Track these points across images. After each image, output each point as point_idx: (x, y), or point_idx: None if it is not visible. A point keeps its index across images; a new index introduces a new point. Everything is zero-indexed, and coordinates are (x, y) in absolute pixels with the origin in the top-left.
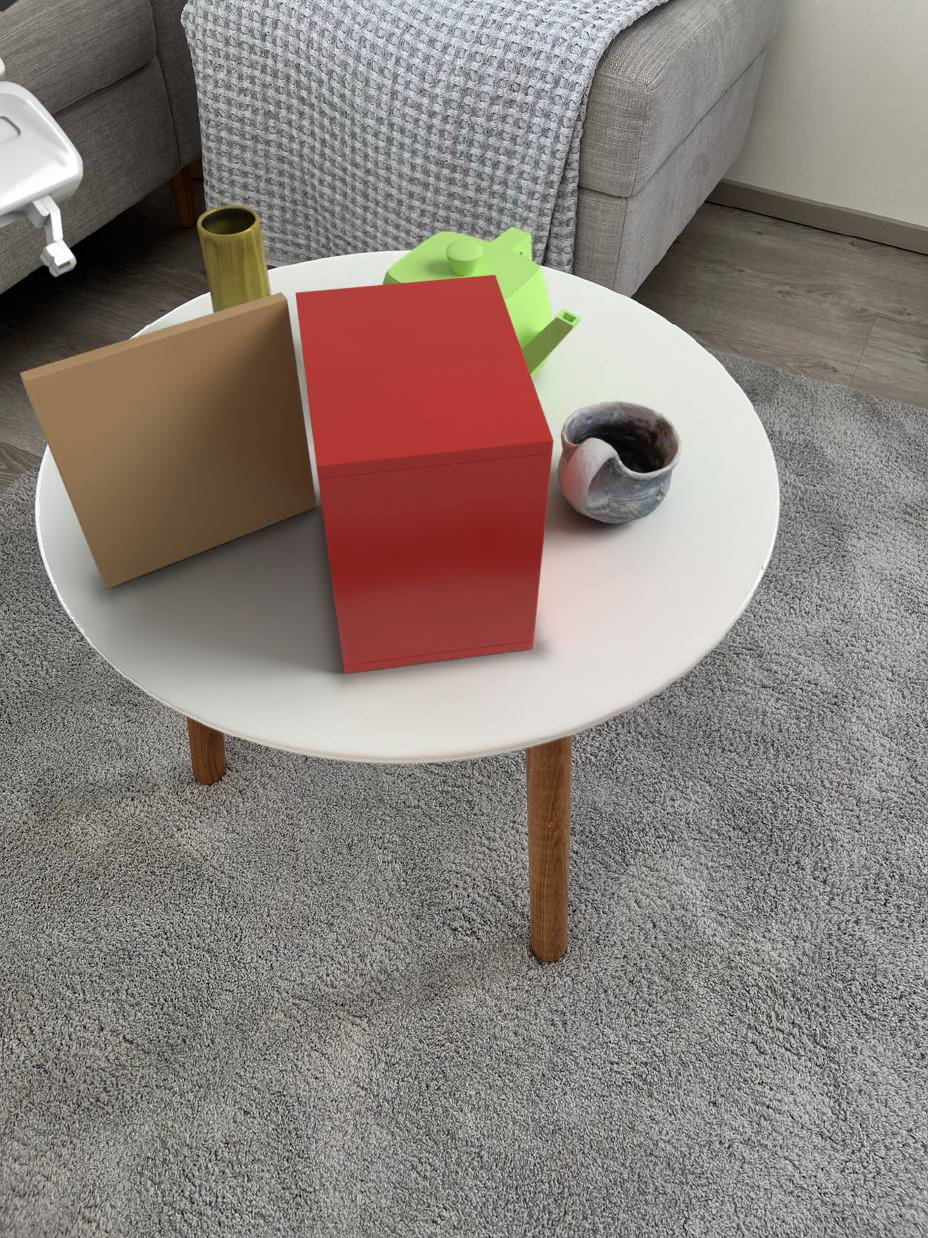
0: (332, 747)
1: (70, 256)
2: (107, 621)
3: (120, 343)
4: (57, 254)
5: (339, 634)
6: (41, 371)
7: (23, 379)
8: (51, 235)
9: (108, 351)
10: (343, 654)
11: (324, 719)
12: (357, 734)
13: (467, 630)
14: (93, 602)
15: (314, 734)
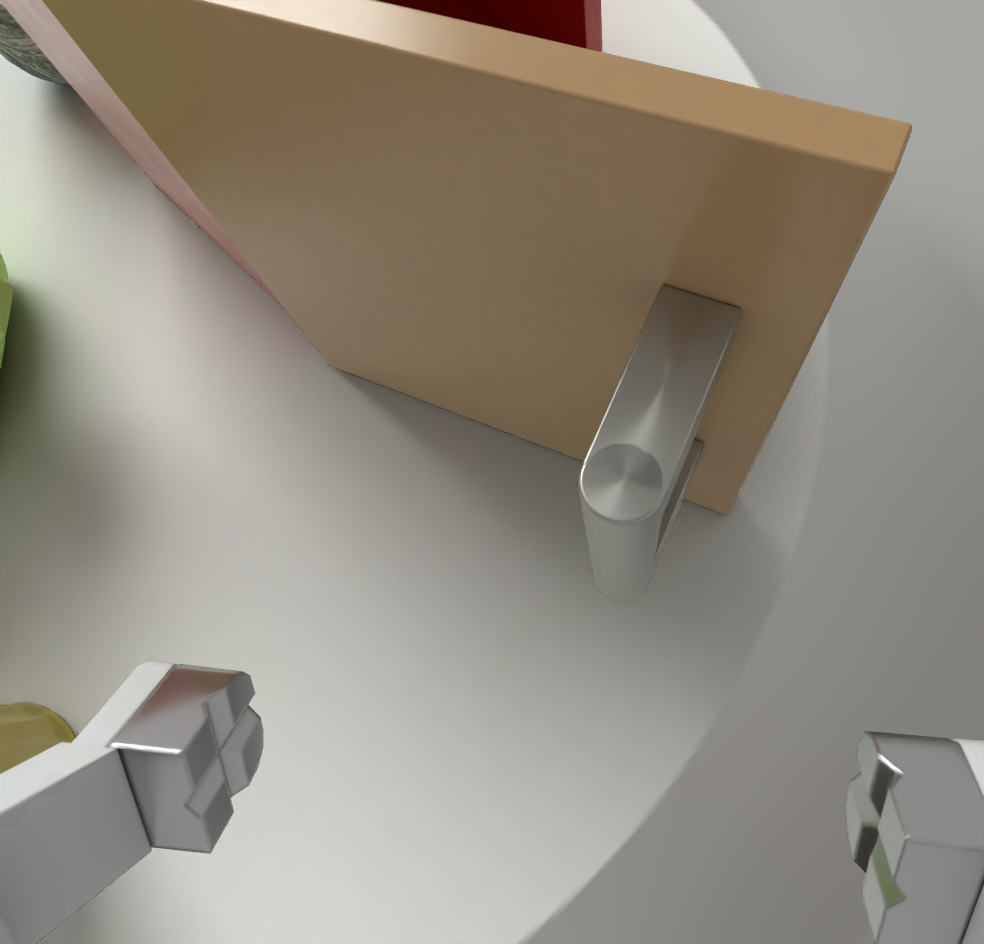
0: (714, 23)
1: (151, 668)
2: (786, 436)
3: (508, 66)
4: (180, 704)
5: (600, 7)
6: (826, 120)
7: (910, 129)
8: (78, 801)
9: (570, 55)
10: (601, 49)
11: (685, 58)
12: (674, 16)
13: None
14: (773, 493)
15: (715, 51)
